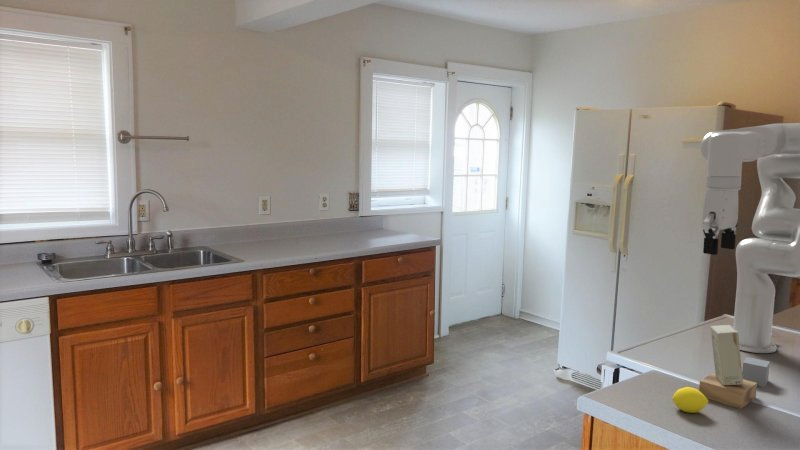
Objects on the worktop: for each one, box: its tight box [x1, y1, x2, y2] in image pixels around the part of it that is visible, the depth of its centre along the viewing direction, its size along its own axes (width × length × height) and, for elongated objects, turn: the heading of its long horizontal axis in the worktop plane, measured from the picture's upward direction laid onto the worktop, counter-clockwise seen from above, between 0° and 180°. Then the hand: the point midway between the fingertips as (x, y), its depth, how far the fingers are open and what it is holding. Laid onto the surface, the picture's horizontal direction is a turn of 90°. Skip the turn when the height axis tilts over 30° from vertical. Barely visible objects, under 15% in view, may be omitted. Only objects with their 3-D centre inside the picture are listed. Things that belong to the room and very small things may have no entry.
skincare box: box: [710, 324, 743, 385], centre depth 133 cm, size 6×4×12 cm
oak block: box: [698, 371, 758, 410], centre depth 134 cm, size 9×9×4 cm
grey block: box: [742, 356, 771, 388], centre depth 143 cm, size 5×5×5 cm
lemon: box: [672, 386, 709, 414], centre depth 126 cm, size 7×5×5 cm
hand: (719, 251), depth 147 cm, fingers open, 9 cm apart
